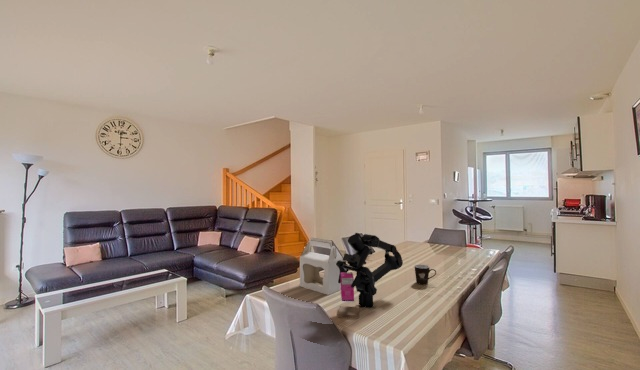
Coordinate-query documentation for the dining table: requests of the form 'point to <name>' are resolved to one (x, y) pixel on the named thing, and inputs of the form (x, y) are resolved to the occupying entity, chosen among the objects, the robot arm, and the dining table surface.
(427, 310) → the dining table surface
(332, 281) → the gable box
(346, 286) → the supplement box
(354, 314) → the walnut riser
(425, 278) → the coffee mug
